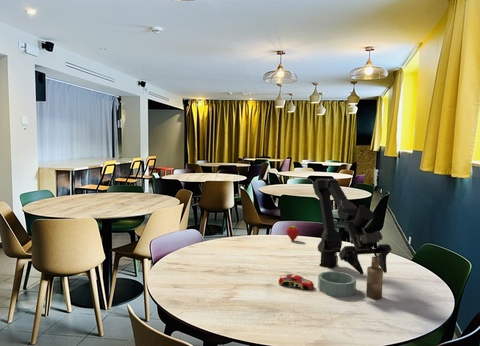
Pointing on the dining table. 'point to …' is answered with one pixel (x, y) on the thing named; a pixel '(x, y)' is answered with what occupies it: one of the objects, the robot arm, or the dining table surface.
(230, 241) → the dining table surface
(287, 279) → the race car
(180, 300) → the dining table surface
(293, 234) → the strawberry
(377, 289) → the walnut bottle
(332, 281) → the bowl
